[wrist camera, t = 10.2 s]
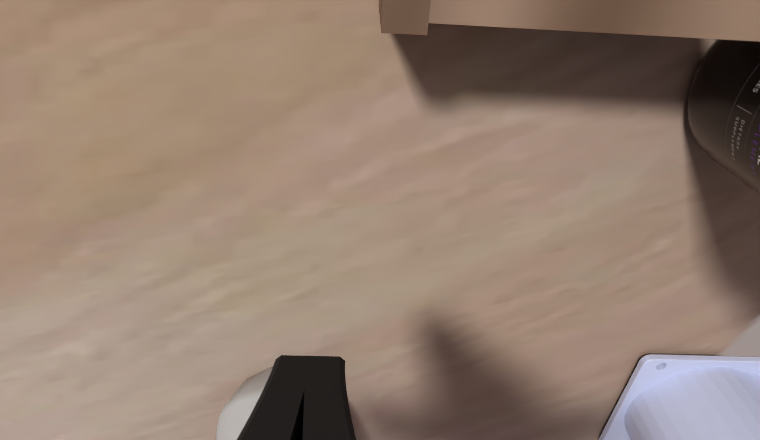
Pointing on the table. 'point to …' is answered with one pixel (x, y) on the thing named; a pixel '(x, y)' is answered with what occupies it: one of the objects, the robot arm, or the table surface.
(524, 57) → the table surface
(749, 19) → the cradle
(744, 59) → the supplement bottle
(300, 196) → the table surface
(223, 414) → the salt shaker
